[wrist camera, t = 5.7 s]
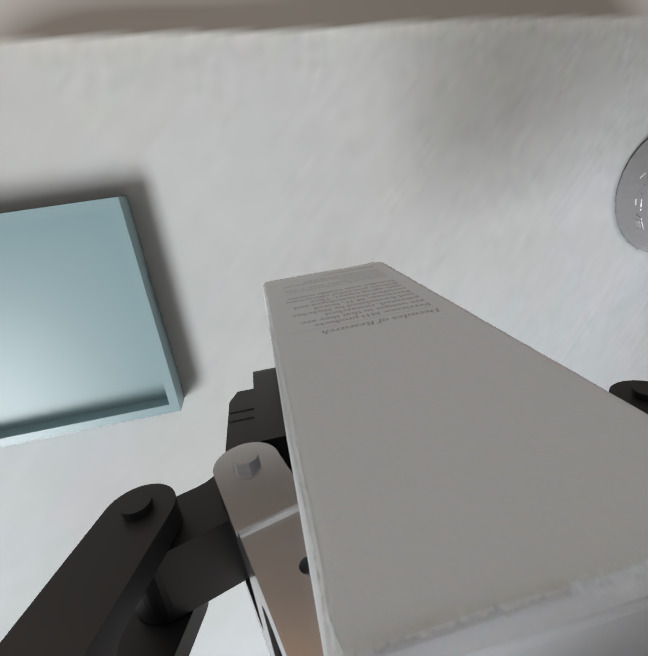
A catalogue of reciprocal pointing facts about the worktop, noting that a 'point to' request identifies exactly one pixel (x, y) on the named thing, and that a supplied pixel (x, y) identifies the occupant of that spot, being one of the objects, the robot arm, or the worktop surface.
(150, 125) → the worktop surface
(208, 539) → the robot arm
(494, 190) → the worktop surface
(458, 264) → the worktop surface
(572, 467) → the skincare box
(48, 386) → the tray
